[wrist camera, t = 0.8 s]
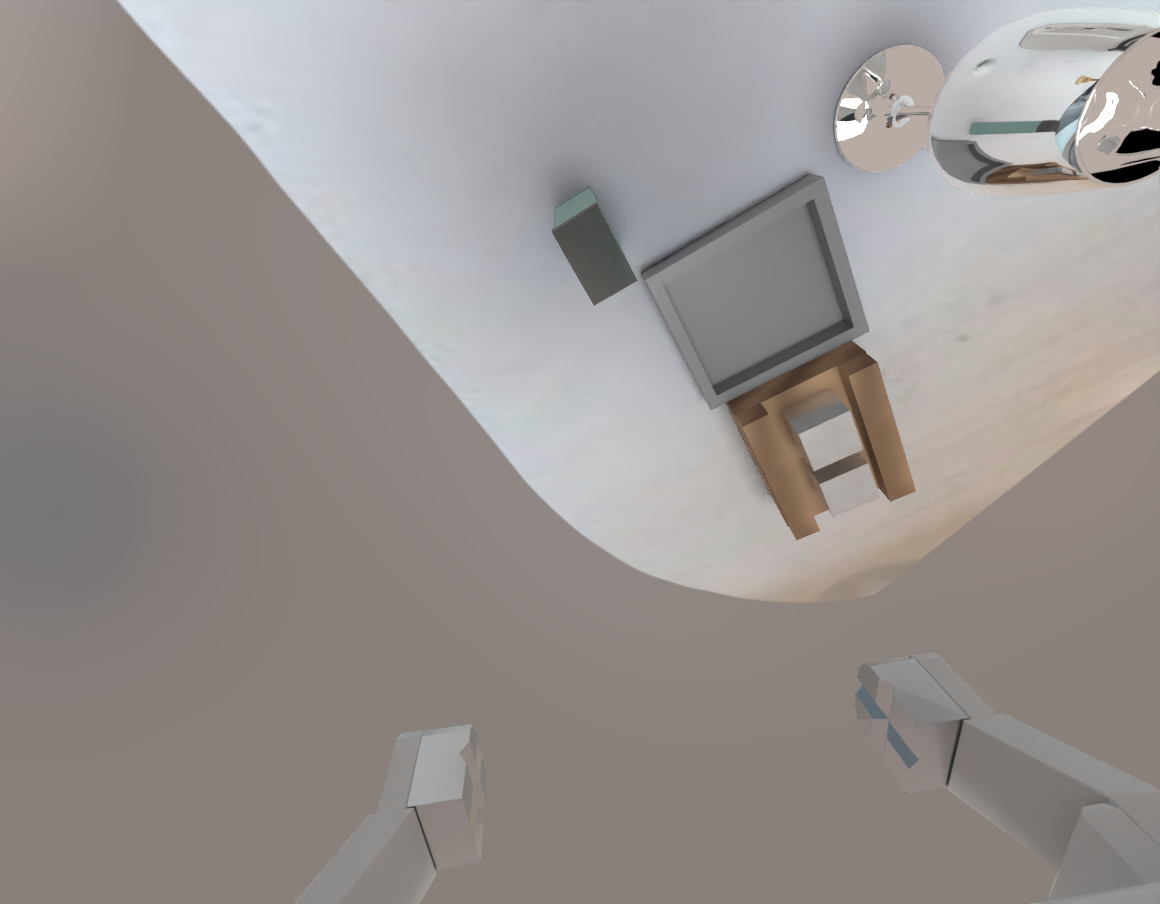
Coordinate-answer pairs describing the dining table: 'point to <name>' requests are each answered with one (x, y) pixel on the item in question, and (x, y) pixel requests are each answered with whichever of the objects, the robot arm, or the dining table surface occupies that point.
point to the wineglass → (1017, 106)
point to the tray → (760, 293)
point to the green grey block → (591, 247)
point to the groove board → (781, 459)
